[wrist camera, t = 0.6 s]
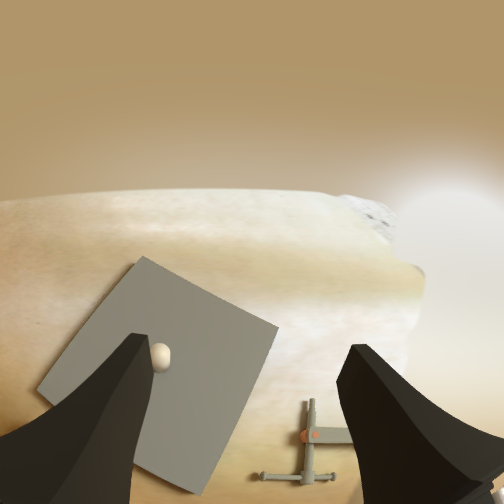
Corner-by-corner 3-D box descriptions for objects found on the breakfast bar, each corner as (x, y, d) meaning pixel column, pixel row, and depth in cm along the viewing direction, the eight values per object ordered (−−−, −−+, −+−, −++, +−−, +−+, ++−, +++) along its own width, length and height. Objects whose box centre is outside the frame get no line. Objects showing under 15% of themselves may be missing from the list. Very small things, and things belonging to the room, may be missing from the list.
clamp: (401, 390, 26) (404, 474, 19) (389, 395, 28) (391, 475, 21) (274, 378, 24) (263, 483, 18) (267, 384, 26) (255, 482, 19)
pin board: (198, 493, 17) (204, 501, 14) (42, 393, 18) (22, 380, 15) (274, 333, 29) (289, 313, 26) (142, 264, 31) (141, 236, 27)
